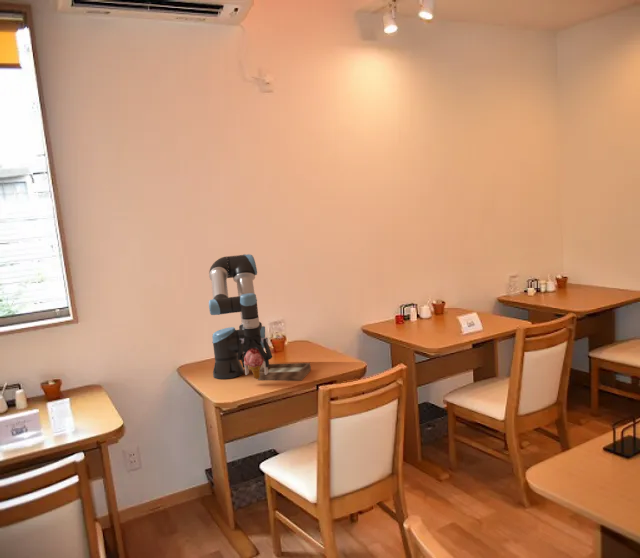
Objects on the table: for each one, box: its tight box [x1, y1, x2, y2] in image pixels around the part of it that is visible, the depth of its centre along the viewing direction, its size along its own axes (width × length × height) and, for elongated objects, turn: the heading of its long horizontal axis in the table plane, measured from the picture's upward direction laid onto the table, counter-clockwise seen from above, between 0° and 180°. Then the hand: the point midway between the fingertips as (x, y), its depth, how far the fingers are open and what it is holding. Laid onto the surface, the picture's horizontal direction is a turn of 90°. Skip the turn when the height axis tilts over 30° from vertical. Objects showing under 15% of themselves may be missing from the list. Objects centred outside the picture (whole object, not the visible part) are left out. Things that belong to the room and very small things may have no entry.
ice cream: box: [244, 348, 264, 380], centre depth 261 cm, size 11×10×15 cm
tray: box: [257, 362, 312, 382], centre depth 275 cm, size 22×16×4 cm
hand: (256, 373), depth 262 cm, fingers closed on ice cream, 9 cm apart
